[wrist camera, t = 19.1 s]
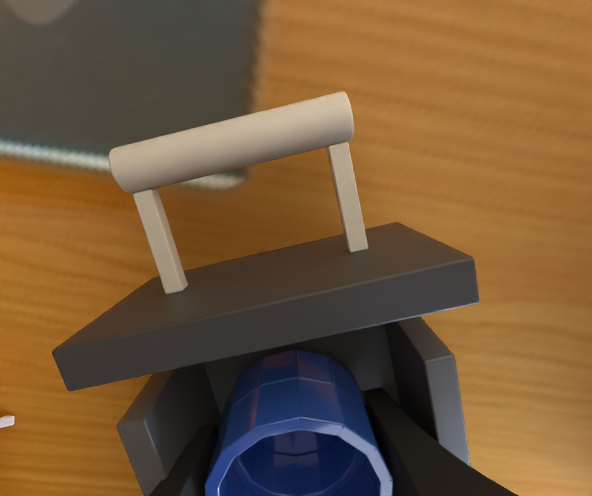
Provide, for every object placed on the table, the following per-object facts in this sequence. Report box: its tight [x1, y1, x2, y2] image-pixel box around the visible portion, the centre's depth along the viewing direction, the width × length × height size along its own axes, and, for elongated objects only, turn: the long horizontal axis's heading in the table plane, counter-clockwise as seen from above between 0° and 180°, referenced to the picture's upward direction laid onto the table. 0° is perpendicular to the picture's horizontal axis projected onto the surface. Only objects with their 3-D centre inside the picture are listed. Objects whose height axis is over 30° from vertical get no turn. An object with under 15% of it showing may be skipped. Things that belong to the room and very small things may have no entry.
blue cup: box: [205, 350, 394, 496], centre depth 11 cm, size 5×5×4 cm
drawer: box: [52, 91, 479, 496], centre depth 12 cm, size 17×10×6 cm, turn 13°
